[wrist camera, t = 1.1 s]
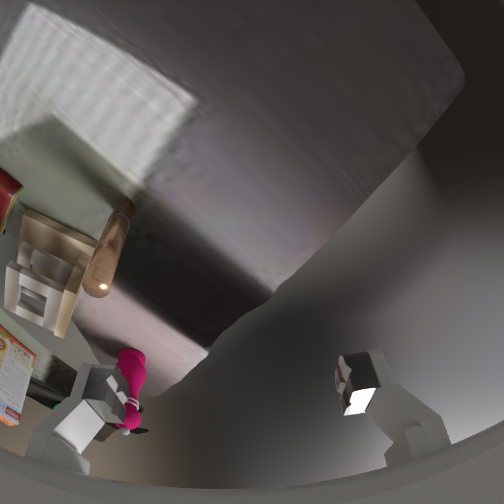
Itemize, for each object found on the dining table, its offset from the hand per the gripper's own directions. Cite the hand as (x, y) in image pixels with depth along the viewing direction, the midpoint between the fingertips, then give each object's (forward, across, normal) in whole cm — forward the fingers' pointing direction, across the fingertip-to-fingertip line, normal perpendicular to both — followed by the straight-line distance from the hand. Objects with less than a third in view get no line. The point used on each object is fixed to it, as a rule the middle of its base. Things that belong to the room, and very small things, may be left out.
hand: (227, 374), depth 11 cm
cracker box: (+33, +60, +40) cm, 79 cm away
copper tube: (+36, +17, +9) cm, 40 cm away
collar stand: (+34, +34, +17) cm, 51 cm away
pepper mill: (+36, +27, +46) cm, 64 cm away
